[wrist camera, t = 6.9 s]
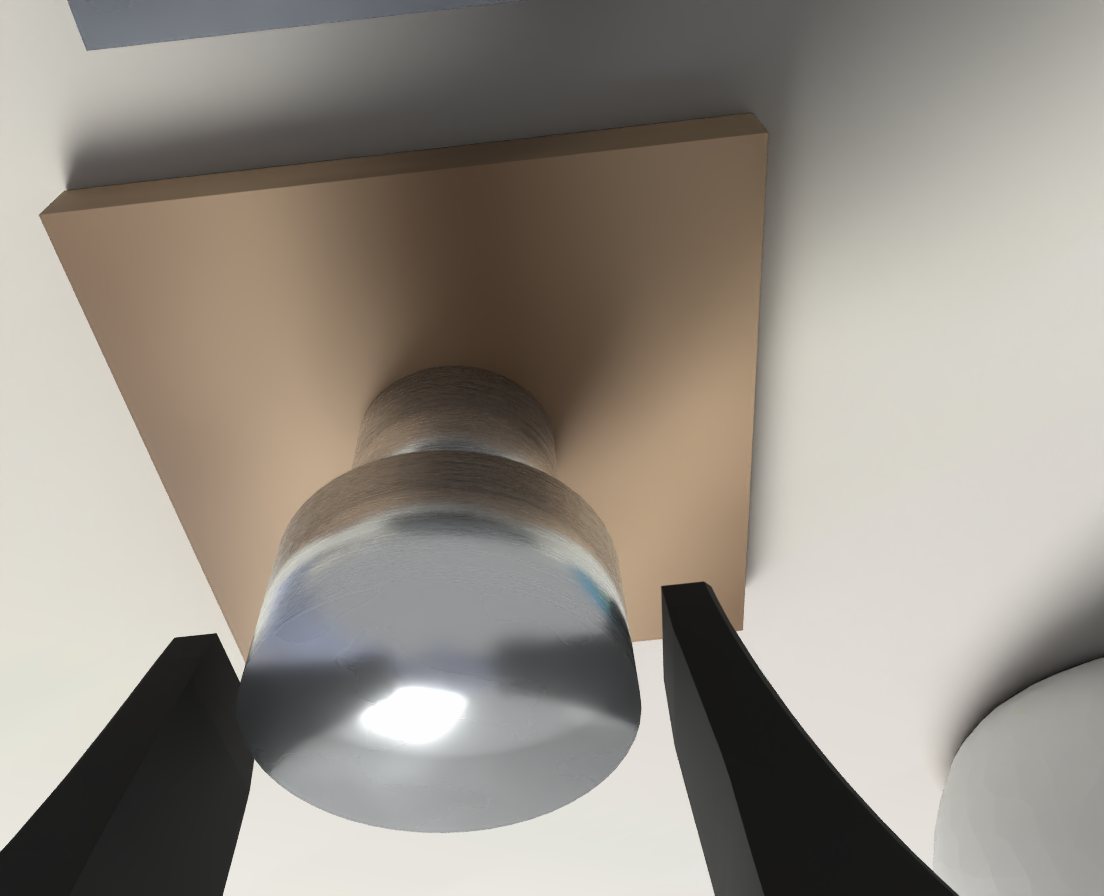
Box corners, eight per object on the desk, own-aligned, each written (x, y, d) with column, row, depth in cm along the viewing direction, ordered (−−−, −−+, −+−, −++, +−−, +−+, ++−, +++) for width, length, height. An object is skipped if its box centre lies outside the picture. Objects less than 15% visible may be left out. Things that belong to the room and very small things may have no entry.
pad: (263, 647, 21) (254, 681, 20) (64, 190, 14) (39, 215, 13) (733, 597, 21) (742, 630, 20) (752, 112, 14) (768, 132, 13)
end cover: (344, 562, 18) (291, 846, 13) (282, 337, 15) (181, 602, 10) (601, 540, 18) (641, 817, 13) (593, 312, 15) (641, 563, 10)
